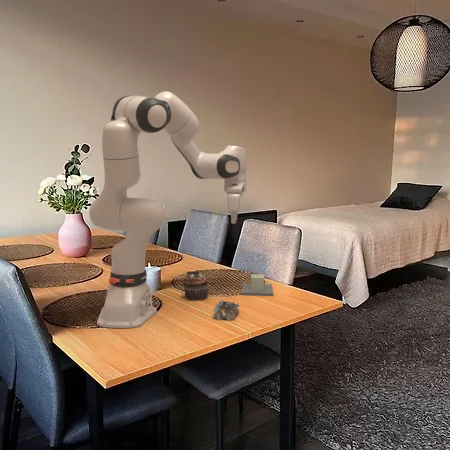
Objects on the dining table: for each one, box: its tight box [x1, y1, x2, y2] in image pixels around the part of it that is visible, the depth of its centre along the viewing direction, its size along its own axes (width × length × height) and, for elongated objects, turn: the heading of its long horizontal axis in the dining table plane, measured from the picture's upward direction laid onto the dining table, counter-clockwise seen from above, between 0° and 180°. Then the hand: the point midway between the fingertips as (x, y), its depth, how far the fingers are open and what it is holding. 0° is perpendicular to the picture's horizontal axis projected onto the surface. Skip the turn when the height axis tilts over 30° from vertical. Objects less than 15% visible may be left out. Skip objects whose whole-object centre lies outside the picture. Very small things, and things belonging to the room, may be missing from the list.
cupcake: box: [182, 269, 210, 302], centre depth 172 cm, size 10×10×10 cm
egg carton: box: [212, 299, 240, 322], centre depth 154 cm, size 11×8×4 cm
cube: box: [250, 273, 265, 290], centre depth 180 cm, size 5×5×5 cm
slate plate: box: [241, 283, 274, 297], centre depth 181 cm, size 12×12×1 cm
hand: (234, 221), depth 182 cm, fingers open, 8 cm apart
